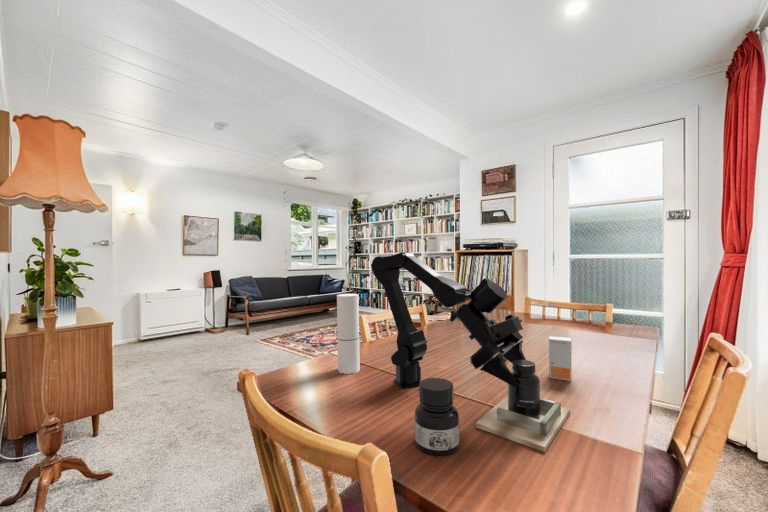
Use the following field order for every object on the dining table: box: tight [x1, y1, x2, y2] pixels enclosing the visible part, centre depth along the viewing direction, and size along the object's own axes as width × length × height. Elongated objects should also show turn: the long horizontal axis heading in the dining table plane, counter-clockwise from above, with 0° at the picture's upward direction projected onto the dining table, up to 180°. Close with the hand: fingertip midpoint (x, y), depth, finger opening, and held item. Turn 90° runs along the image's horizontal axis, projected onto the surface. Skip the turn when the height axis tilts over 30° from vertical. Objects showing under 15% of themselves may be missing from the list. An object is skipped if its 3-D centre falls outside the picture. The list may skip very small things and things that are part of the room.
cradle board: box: [475, 395, 571, 453], centre depth 74 cm, size 14×20×4 cm
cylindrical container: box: [336, 293, 361, 375], centre depth 108 cm, size 7×7×25 cm
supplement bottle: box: [507, 359, 541, 419], centre depth 75 cm, size 7×7×12 cm
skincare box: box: [548, 335, 572, 382], centre depth 99 cm, size 6×4×12 cm
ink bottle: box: [414, 377, 460, 456], centre depth 66 cm, size 10×9×12 cm
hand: (523, 379), depth 74 cm, fingers open, 9 cm apart
